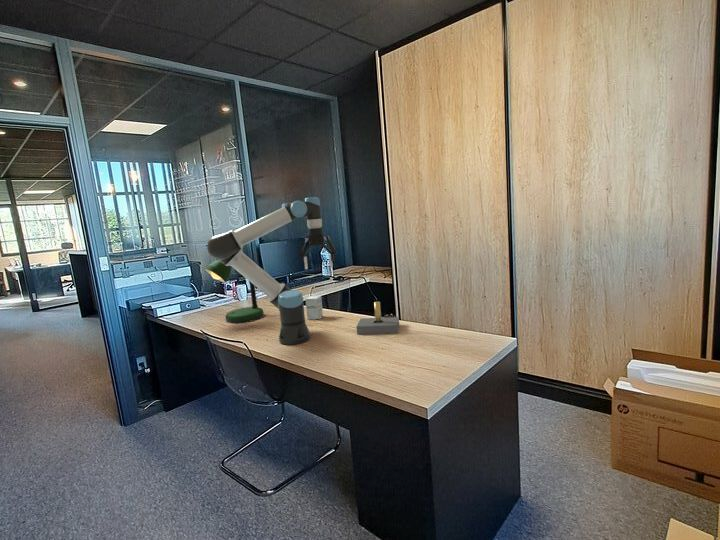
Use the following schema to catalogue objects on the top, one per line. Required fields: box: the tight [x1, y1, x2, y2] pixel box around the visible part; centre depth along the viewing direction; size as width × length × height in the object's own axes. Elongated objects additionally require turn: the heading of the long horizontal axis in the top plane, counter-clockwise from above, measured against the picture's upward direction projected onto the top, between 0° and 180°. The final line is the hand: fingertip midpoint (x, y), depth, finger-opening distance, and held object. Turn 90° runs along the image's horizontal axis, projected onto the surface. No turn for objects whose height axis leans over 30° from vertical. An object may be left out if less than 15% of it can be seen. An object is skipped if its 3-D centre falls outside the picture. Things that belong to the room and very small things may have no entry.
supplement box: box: [305, 295, 324, 320], centre depth 219 cm, size 7×7×13 cm
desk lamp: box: [204, 259, 265, 324], centre depth 228 cm, size 31×23×45 cm
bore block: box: [356, 316, 400, 335], centre depth 188 cm, size 14×20×4 cm
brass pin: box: [373, 301, 382, 323], centre depth 187 cm, size 3×3×14 cm
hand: (318, 268), depth 196 cm, fingers open, 13 cm apart
